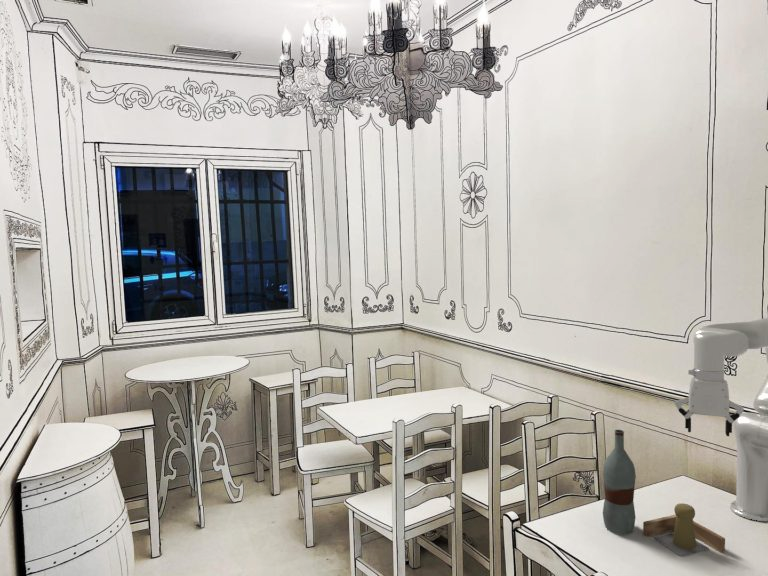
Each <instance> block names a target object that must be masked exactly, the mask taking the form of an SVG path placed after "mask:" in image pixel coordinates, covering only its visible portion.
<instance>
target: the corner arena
mask: <svg viewBox="0 0 768 576" xmlns="http://www.w3.org/2000/svg"><path fill="white" fill-rule="evenodd" d="M675 522H676V514H672V515H668V516H663V517H660V518H654V519H649V520H645V521H643V522H642V524H643V525H642V527H643V528H642V529H643V531H642V534H643V535H642V536H644V537H645V538H648V537H652V536H653V537H652V539H653V540H654V541H656V542H657V541H658V543H659V544H661V545H663V546H664V547H665V548H667V549H669V550H670V551H672V552H674V553H675V554H676V555H678V556H680V557H684V556H688V555H692V554H696V553H700V552H704V551H708V550H710V548H712V549H714V550H715V551H717V552H719V553H721V554H723V553H725V552H726V538H725V537H723V536H722V535H720V534H718V533H717V532H714V531H713V530H710V529H709V528H707V527H705V526H704V525H701V524H699V523H698V522H696V521H694V520H693V524H694V531H695V539H696V547H695V548H691V549H687V548H682V547H679V546H677V545H675V544H674V543H673V541H672V540H673V534H674V528H675ZM672 531H673V532H672ZM668 532H671V533H668ZM664 533H666V534H664ZM660 534H661V535H660ZM699 541H700V542H699ZM701 541H702V543H701ZM703 542H704V544H703ZM708 545H709V546H708ZM709 547H710V548H709Z"/></svg>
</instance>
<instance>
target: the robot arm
mask: <svg viewBox="0 0 768 576" xmlns="http://www.w3.org/2000/svg"><path fill="white" fill-rule="evenodd" d="M693 344H694V346H693V347H694V348H693V351H694V352H693V355H694V356H693V364H694V365H693V368H692V369H688V371H687V372H688V375H691V376H692V378H691V379H690V384H689V390H688V396H687V397H684V398H681V399H678V400H676V401H674V405H675V407H676V409H677V410H678V412H679V413H680V414H681V415H682V416H683V417H684V420H685V421H684V422H685V424H684V428H685V429H687V433H691V432H692V416H693V415H699V416H709V417H710V416H711V417H724V419H726V420H725V426H724V427H725V428H724V429H725V435H726V437H730V434H732V433H733V430H734V436H735V440H736V441H735V442H736V490H735V497H736V498H735V500H733V501H731V503H730V506H729V507H730V510H731V511H732V512H733V513H734V514H736V515H738V516H740V517H742V518H744V517H745V519H749V520H751V519H752V520H753V521H756V520H757V521H758V522H768V374H767V375H766V376H765V377H766V378H765V380H764V381H763V383H762V385H761V387H760V388H759V390H758V392H757V393H756V395H755V398H754V400H753V409H754V410H755V412H744V409H745V408H744V407H743V406H741V405H740V404H737V403H736V402H734V401H731V399H730V391H729V385H728V381H727V380H725V357H739V356H742V355H744V354H745V353H746V352H747V351H748V350H759V349H762V348H765V356H766V362H767V364H768V317H763V318H759V319H756V320H751V321H739V322H737V321H736V322H725V323H723V322H722V323H714V324H707V325H705V326H702V327H700V328H698V329H697V330H696V331H695V333H694V336H693ZM687 403H688V409H687V410H685V409H684V408H683V406H682V405H685V404H687ZM730 407H731V408H732V409H733V408H734V409H735V412H733V414H730Z"/></svg>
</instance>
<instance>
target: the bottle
mask: <svg viewBox="0 0 768 576" xmlns="http://www.w3.org/2000/svg"><path fill="white" fill-rule="evenodd" d="M624 434H625V431H624V430H622V429H614V448H613V450H611V452H610V453H609V455H608V456H607V457H606V459H605V461H604V464H603V468H602V476H603V477H602V478H603V487H604V489H603V490H604V501H603V508H602V519H603V523H604V527H605V529H606V528H607V529H606V530H607V531H609V532H611V533H613V534H618V535H629V534H630V535H631V533H633V531H634V528H635V524H636V511H635V503H634V497H635V486H636V479H637V476H636V467H635V464H634V462H633V461H632V459H631V457H630V456H629V454H628V453H627V452H626V450H625V435H624Z"/></svg>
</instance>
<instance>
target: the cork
mask: <svg viewBox="0 0 768 576" xmlns="http://www.w3.org/2000/svg"><path fill="white" fill-rule="evenodd" d="M695 510H696V509H695V508H694V507H693V506H692V505H690V504H687V503H684V502H683V503H682V502H681V503H677V504H676V505H675V506H674V515H676V522H675V528H674V530H673V533H674V534H673V540H672V541H673V543H674V544H675V545H677V546H679V547H682V548H687V549H691V548H695V547H696V541H697V539H696V538H695V531H694V524H693V521H694V518H695V516H696V511H695Z"/></svg>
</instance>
